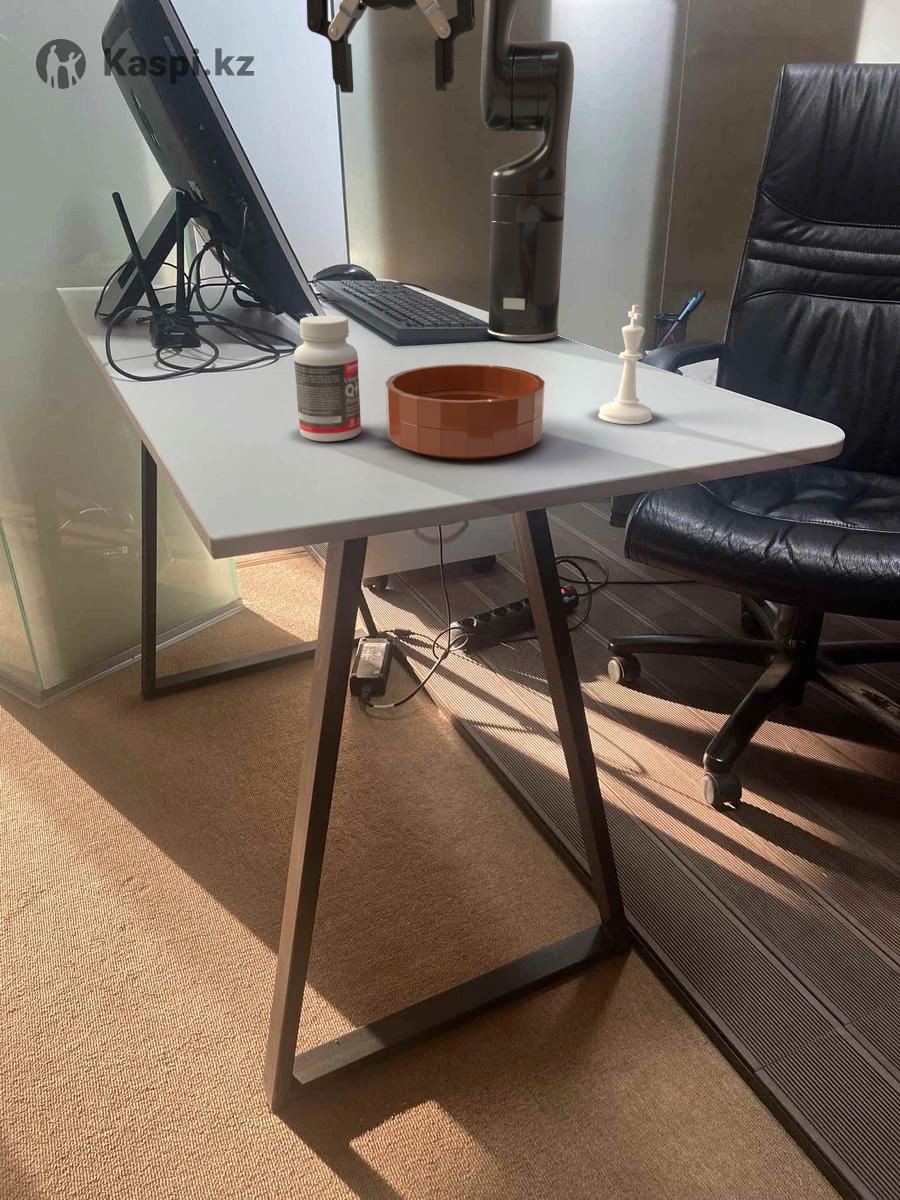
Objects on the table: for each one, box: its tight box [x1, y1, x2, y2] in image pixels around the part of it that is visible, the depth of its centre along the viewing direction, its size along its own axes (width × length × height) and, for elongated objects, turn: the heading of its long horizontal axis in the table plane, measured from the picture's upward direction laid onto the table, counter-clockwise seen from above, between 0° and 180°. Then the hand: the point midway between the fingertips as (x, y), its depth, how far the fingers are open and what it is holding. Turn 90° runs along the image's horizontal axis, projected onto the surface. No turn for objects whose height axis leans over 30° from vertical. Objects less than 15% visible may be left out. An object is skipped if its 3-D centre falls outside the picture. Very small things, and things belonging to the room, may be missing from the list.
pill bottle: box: [293, 315, 362, 442], centre depth 73 cm, size 5×5×10 cm
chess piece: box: [598, 304, 653, 425], centre depth 78 cm, size 5×5×10 cm
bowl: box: [384, 363, 546, 460], centre depth 73 cm, size 13×13×5 cm
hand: (393, 91), depth 76 cm, fingers open, 8 cm apart
